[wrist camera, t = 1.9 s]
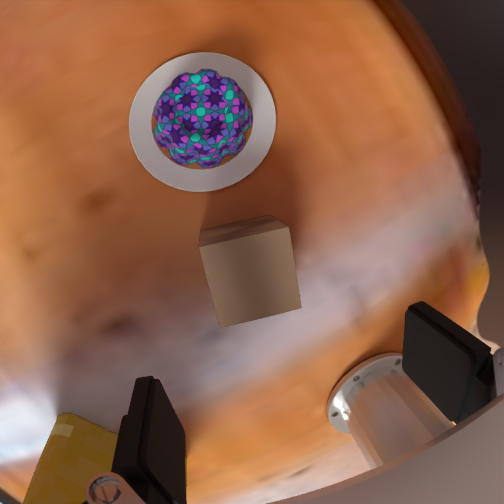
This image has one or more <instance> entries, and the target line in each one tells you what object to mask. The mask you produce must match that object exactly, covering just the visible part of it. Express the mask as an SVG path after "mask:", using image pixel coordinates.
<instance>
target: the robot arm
mask: <svg viewBox="0 0 504 504" xmlns="http://www.w3.org/2000/svg"><path fill="white" fill-rule="evenodd" d="M490 351H491V348H490V347H489V346H488V345H486V344H485V343H483V342H482V341H481V340H479V339H478V338H476V337H475V336H473V335H472V334H471V333H469V332H468V331H466V330H465V329H463V328H462V327H461V326H459V325H458V324H456V323H455V322H453V321H452V320H450V319H449V318H448V317H446V316H445V315H443V314H442V313H440V312H439V311H437V310H436V309H434V308H433V307H431V306H430V305H428V304H427V303H425V302H423V301H420V302H417V303H415V304H412V305H410V306H409V307H408V310H407V311H406V313H405V328H404V343H403V354H401V353H396V352H391V353H384V354H379V355H377V356H374V357H371V358H369V359H367V360H365V361H364V362H362V363H360V364H359V365H357V366H356V367H354V368H353V369H352V370H351V371H349V372H348V373H347V374H346V375H345V376H344V377H343V378H342V379H341V380H340V381H339V382H338V384H337V385H336V386H335V388H334V389H333V391H332V393H331V395H330V397H329V399H328V403H327V407H326V410H327V417H328V419H329V421H330V423H331V425H332V426H333V427H334V428H335V429H336V430H338V431H340V432H343V433H350V434H352V436H353V438H354V440H355V441H356V443H357V445H358V447H359V448H360V450H361V452H362V454H363V456H364V457H365V459H366V461H367V463H368V464H369V466H370V468H371V470H369V471H367V472H365V473H362V474H360V475H357V476H355V477H352V478H350V479H347V480H344V481H342V482H339V483H336V484H333V485H330V486H327V487H324V488H321V489H318V490H315V491H312V492H309V493H305V494H302V495H298V496H295V497H291V498H287V499H283V500H279V501H275V502H271V503H267V504H504V347H502V348H499V349H498V350H496V351H495V353H494V354H493V355H492V354H491V353H490ZM452 421H454V422H455V423H456V425H454V424H453V423H452ZM85 497H86V501H84V502H83V503H81V504H187V502H186V465H185V432H184V429H183V426H182V425H181V423H180V421H179V419H178V417H177V415H176V413H175V411H174V409H173V407H172V405H171V403H170V401H169V399H168V397H167V395H166V393H165V390H164V388H163V386H162V384H161V382H160V380H159V379H154V377H153V376H147V377H141V378H137V379H136V381H135V385H134V389H133V394H132V398H131V402H130V406H129V411H128V415H124V416H123V418H122V421H121V425H120V430H119V434H118V439H117V443H116V448H115V453H114V458H113V463H112V468H111V472H104V473H100V474H97V475H95V476H94V477H92V478H91V479H90V480H89V481H88V483H87V484H86V487H85Z"/></svg>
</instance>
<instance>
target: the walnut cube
mask: <svg viewBox="0 0 504 504" xmlns="http://www.w3.org/2000/svg"><path fill="white" fill-rule="evenodd" d="M199 250H200V254H201V258H202V262H203V266H204V270H205V274H206V278H207V282H208V286H209V290H210V293H211V297H212V301H213V305H214V308H215V312H216V316H217V319H218V323H219V326H220V328H222V327H227V326H231V325H236V324H240V323H244V322H248V321H252V320H257V319H261V318H265V317H269V316H273V315H276V314H280V313H284V312H288V311H292V310H296V309H299V308H302V307H301V300H300V294H299V287H298V280H297V274H296V268H295V261H294V255H293V249H292V243H291V237H290V231H289V227H288V226H287V225H285V224H284V223H282V222H281V221H279V220H277V219H276V218H274V217H273V216H271V215H268V216H263V217H258V218H254V219H249V220H245V221H240V222H236V223H231V224H227V225H222V226H218V227H214V228H209V229H205V230H201V231H200V239H199Z"/></svg>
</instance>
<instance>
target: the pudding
mask: <svg viewBox="0 0 504 504" xmlns="http://www.w3.org/2000/svg"><path fill="white" fill-rule="evenodd" d="M221 76H223V77H221ZM169 85H171V86H170V88H168V89H167V90H165V89H166V88H167V87H168V86H169ZM240 88H241V89H242V91H243V92H244V93H245V94H246V96H247V98H248V100H249V102H250V104H251V108H252V112H253V128H252V132H251V135H250V138H249V140H248V142H247V144H246V145H245V147H244V148H243V146H244V144H245V135H244V132H245V131H246V130H247V129H248V128H250V127H251V123H252V114H251V110H250V108H249V107H248V105H247V103H246V101H245V100H244V94H243V92H242V91H241V89H240ZM158 98H159V99H158ZM157 100H158V101H157ZM156 102H157V103H156ZM155 104H156V105H155ZM154 106H155V109H154ZM153 109H154V116H155V118H156V120H157V123H156V126H155V129H154V136H155V140H156V141H157V143H158V144H159V146H161V147H164V148H167V149H169V152H170V156H171V159H173V160H174V161H175V162H176V163H178V164H182V165H189V164H192V163H194V162H196V163H197V164H199V165H200V166H202V167H203V168H206V167H214V166H216V165H218V164H220V163H221V161H222V160H223V158H224V157H225V156H226V155H235V154H236V153H238V152H239V151H240V150H241V149H242V148H243V150H242V151H241V152H240V153H239V154H238V155H237V156H236V157H235V158H233V159H232V160H230V161H229V162H227V163H225V164H223V165H221V166H218V167H215V168H212V169H204V170H198V169H190V168H185V167H183V166H180V165H177V164H176V163H174V162H172V161H171V160H169V159H168V158H167V157H166V156H165V155H164V154H163V153H162V152H161V150H160V149H159V148H158V146H157V144H156V142H155V140H154V137H153V134H152V127H151V119H152V113H153ZM275 129H276V112H275V105H274V102H273V99H272V96H271V93H270V91H269V89H268V87H267V86H266V84H265V82H264V81H263V80H262V79H261V77H260V76H259V75H258V74H257V73H256V72H255V71H254V70H253V69H251V68H250V67H249V66H248V65H246V64H244V63H243V62H241V61H239V60H238V59H235V58H232V57H230V56H227V55H223V54H218V53H210V52H199V53H191V54H187V55H183V56H180V57H177V58H175V59H172V60H170V61H168V62H166V63H165V64H163V65H162V66H160V67H159V68H157V69H156V70H155V71H154V72H153V73H152V74H151V75H150V76H149V77H148V78H147V79H146V80H145V81H144V82H143V84H142V85H141V87H140V88H139V90H138V92H137V94H136V96H135V98H134V100H133V103H132V106H131V110H130V116H129V134H130V139H131V143H132V146H133V149H134V151H135V153H136V155H137V157H138V159H139V161H140V162H141V163H142V165H143V166H144V167H145V168H146V170H147V171H149V172H150V173H151V174H152V175H153V176H154V177H155V178H157V179H158V180H160V181H162V182H163V183H165V184H167V185H169V186H172V187H174V188H177V189H181V190H186V191H191V192H207V191H214V190H219V189H222V188H225V187H228V186H231V185H233V184H235V183H237V182H239V181H241V180H242V179H243V178H245V177H246V176H247V175H249V174H250V173H252V172H253V170H254V169H255V168H256V167H257V166H258V165H259V164H260V163H261V162H262V160H263V159H264V157H265V156H266V154H267V153H268V151H269V148H270V146H271V144H272V142H273V137H274V133H275Z"/></svg>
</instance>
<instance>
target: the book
mask: <svg viewBox="0 0 504 504" xmlns="http://www.w3.org/2000/svg"><path fill="white" fill-rule="evenodd" d="M117 439H118V435H117V434H115V433H112V432H110V431H108V430H106V429H104V428H102V427H100V426H97V425H95V424H93V423H91V422H89V421H87V420H85V419H83V418H81V417H79V416H77V415H73V414H70V413H69V414H62V415H60V416H58V418H57V421H56V423H55V425H54V427H53V429H52V431H51V434H50V436H49V438H48V441H47V443H46V445H45V447H44V450H43V452H42V455H41V457H40V459H39V462H38V464H37V467H36V469H35V472H34V474H33V477H32V480H31V482H30V485H29V488H28V490H27V493H26V496H25V499H24V501H23V504H81V503H83V502H84V501H86V497H85V487H86V484H87V483H88V481H89V480H90V479H91V478H92V477H94V476H95V475H97V474H100V473H104V472H111V468H112V463H113V458H114V453H115V448H116V443H117ZM185 465H186V487H187V458H185Z"/></svg>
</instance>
